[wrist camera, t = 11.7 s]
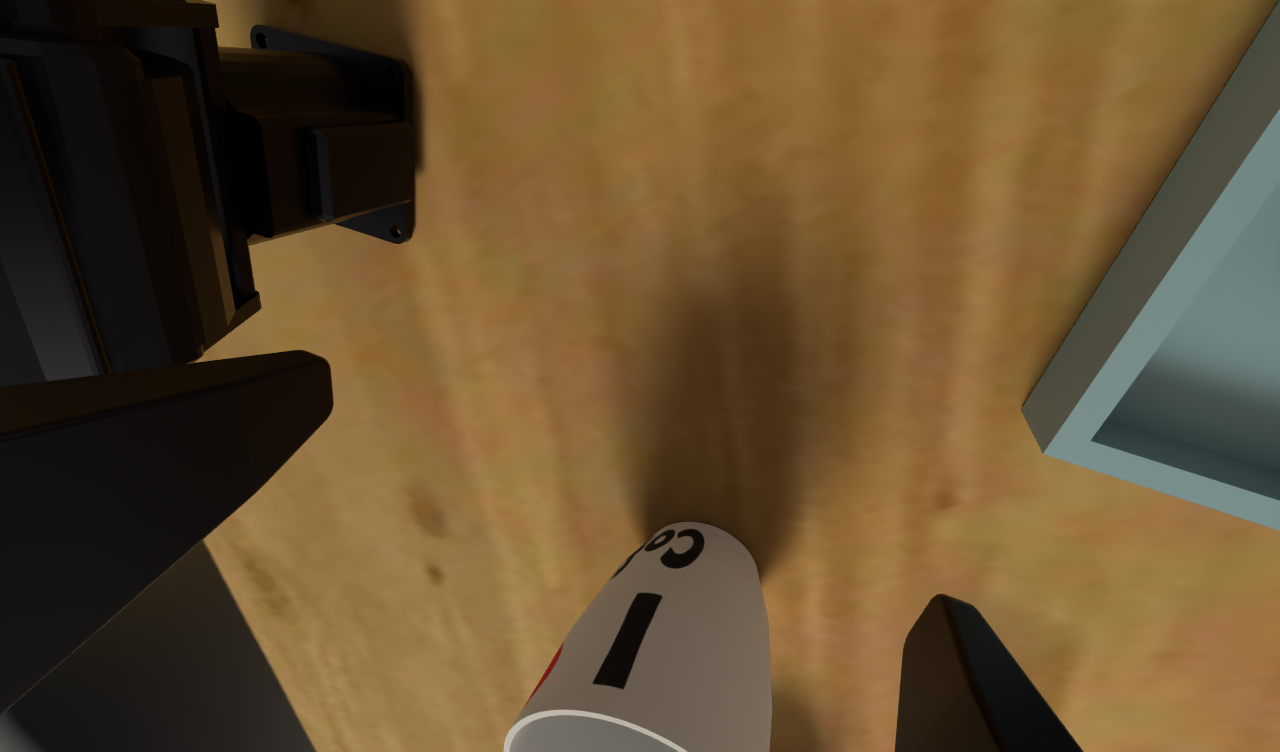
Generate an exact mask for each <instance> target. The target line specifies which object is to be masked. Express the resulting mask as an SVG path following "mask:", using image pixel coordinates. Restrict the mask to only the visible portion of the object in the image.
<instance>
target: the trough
mask: <svg viewBox="0 0 1280 752" xmlns="http://www.w3.org/2000/svg"><path fill="white" fill-rule="evenodd" d="M1021 411H1022V413H1023V415H1024V417H1025V419H1026V421H1027V423H1028V425H1029V427H1030V429H1031V431H1032V433H1033V435H1034V437H1035V439H1036V441H1037V443H1038V445H1039V447H1040V449H1041V451H1042V453H1043V454H1045V455H1048V456H1051V457H1054V458H1058V459H1061V460H1064V461H1067V462H1070V463H1073V464H1076V465H1079V466H1082V467H1085V468H1088V469H1091V470H1094V471H1098V472H1101V473H1104V474H1107V475H1110V476H1113V477H1116V478H1119V479H1122V480H1125V481H1128V482H1131V483H1135V484H1138V485H1141V486H1144V487H1147V488H1150V489H1153V490H1156V491H1159V492H1162V493H1165V494H1168V495H1172V496H1175V497H1178V498H1181V499H1184V500H1187V501H1190V502H1193V503H1196V504H1199V505H1202V506H1205V507H1208V508H1212V509H1215V510H1218V511H1221V512H1224V513H1227V514H1230V515H1233V516H1236V517H1239V518H1242V519H1245V520H1249V521H1252V522H1255V523H1258V524H1261V525H1264V526H1267V527H1270V528H1273V529H1276V530H1279V531H1280V0H1279V1H1278V3H1277V5H1276V6H1275V8H1274V9H1273V11H1272V12H1271V14H1270V16H1269V17H1268V19H1267V20H1266V22H1265V24H1264V25H1263V27H1262V28H1261V30H1260V31H1259V33H1258V35H1257V36H1256V38H1255V39H1254V41H1253V43H1252V44H1251V46H1250V47H1249V49H1248V50H1247V52H1246V54H1245V55H1244V57H1243V58H1242V60H1241V62H1240V63H1239V65H1238V66H1237V68H1236V69H1235V71H1234V73H1233V74H1232V76H1231V77H1230V79H1229V81H1228V82H1227V84H1226V85H1225V87H1224V88H1223V90H1222V92H1221V93H1220V95H1219V96H1218V98H1217V100H1216V101H1215V103H1214V104H1213V106H1212V108H1211V109H1210V111H1209V112H1208V114H1207V115H1206V117H1205V119H1204V120H1203V122H1202V123H1201V125H1200V127H1199V128H1198V130H1197V131H1196V133H1195V134H1194V136H1193V138H1192V139H1191V141H1190V142H1189V144H1188V146H1187V147H1186V149H1185V150H1184V152H1183V153H1182V155H1181V157H1180V158H1179V160H1178V161H1177V163H1176V165H1175V166H1174V168H1173V169H1172V171H1171V172H1170V174H1169V176H1168V177H1167V179H1166V180H1165V182H1164V184H1163V185H1162V187H1161V188H1160V190H1159V191H1158V193H1157V195H1156V196H1155V198H1154V199H1153V201H1152V203H1151V204H1150V206H1149V207H1148V209H1147V210H1146V212H1145V214H1144V215H1143V217H1142V218H1141V220H1140V222H1139V223H1138V225H1137V226H1136V228H1135V229H1134V231H1133V233H1132V234H1131V236H1130V237H1129V239H1128V241H1127V242H1126V244H1125V245H1124V247H1123V249H1122V250H1121V252H1120V253H1119V255H1118V256H1117V258H1116V260H1115V261H1114V263H1113V264H1112V266H1111V268H1110V269H1109V271H1108V272H1107V274H1106V275H1105V277H1104V279H1103V280H1102V282H1101V283H1100V285H1099V287H1098V288H1097V290H1096V291H1095V293H1094V294H1093V296H1092V298H1091V299H1090V301H1089V302H1088V304H1087V306H1086V307H1085V309H1084V310H1083V312H1082V313H1081V315H1080V317H1079V318H1078V320H1077V321H1076V323H1075V325H1074V326H1073V328H1072V329H1071V331H1070V332H1069V334H1068V336H1067V337H1066V339H1065V340H1064V342H1063V344H1062V345H1061V347H1060V348H1059V350H1058V351H1057V353H1056V355H1055V356H1054V358H1053V359H1052V361H1051V363H1050V364H1049V366H1048V367H1047V369H1046V371H1045V372H1044V374H1043V375H1042V377H1041V378H1040V380H1039V382H1038V383H1037V385H1036V386H1035V388H1034V390H1033V391H1032V393H1031V394H1030V396H1029V397H1028V399H1027V401H1026V402H1025V404H1024V405H1023V407H1022V409H1021Z"/></svg>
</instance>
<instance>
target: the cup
mask: <svg viewBox="0 0 1280 752" xmlns="http://www.w3.org/2000/svg"><path fill="white" fill-rule="evenodd" d="M771 722H772V691H771V669H770V647H769V624H768V617H767V612H766V608H765V603H764V598H763V594H762V589H761V585H760V580H759V575H758V571H757V567H756V564H755V561H754V559H753V557H752V556H751V554H750V553H749V551H748V550H747V549H746V548H745V546H744V545H743V544H742V543H741V542H739V541H738V540H737V539H736V538H735V537H733V536H732V535H730V534H729V533H727V532H725V531H723V530H721V529H719V528H717V527H714V526H711V525H708V524H704V523H699V522H678V523H674V524H670V525H668V526H665V527H663V528H662V529H660V530H659V531H658V532H656V533H655V534H654V535H653V536H652V537H651V538H650V539H649V540H647V541H646V542H645V543H644V544H643V545H642V546H641V547H640V548H639V549H637V550H636V551H635V552H634V553H633V554H632V555H631V556H630V557H629V558H627V559H626V560H625V561H624V562H623V563H622V564H621V565H620V566H619V568H618V569H617V570H616V572H615V573H614V574H613V575H612V577H611V578H610V579H609V581H608V582H607V583H606V584H605V586H604V587H603V588H602V590H601V591H600V592H599V593H598V595H597V596H596V597H595V599H594V600H593V601H592V602H591V604H590V605H589V606H588V608H587V609H586V610H585V611H584V613H583V614H582V615H581V617H580V618H579V619H578V620H577V622H576V623H575V624H574V626H573V627H572V629H571V630H570V632H569V634H568V635H567V637H566V639H565V640H564V642H563V644H562V645H561V647H560V649H559V650H558V652H557V653H556V655H555V657H554V658H553V660H552V662H551V663H550V665H549V667H548V668H547V670H546V672H545V673H544V675H543V677H542V678H541V680H540V682H539V683H538V685H537V686H536V688H535V690H534V691H533V693H532V695H531V696H530V698H529V700H528V701H527V703H526V705H525V706H524V708H523V710H522V711H521V713H520V714H519V716H518V718H517V719H516V721H515V723H514V724H513V726H512V728H511V729H510V731H509V733H508V735H507V737H506V740H505V744H504V752H770V737H771Z"/></svg>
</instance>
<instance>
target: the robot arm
mask: <svg viewBox="0 0 1280 752" xmlns="http://www.w3.org/2000/svg"><path fill="white" fill-rule="evenodd" d="M215 28H219V23H218V17H217V10H216V4H214V3H210V2H206V1H202V0H0V716H1V715H2V714H3V713H4V712H5V711H6V710H7V709H9V708H10V707H11V706H12V705H13V704H14V703H15V702H17V701H18V700H19V699H20V698H21V697H22V696H24V695H25V694H26V693H27V692H28V691H29V690H30V689H31V688H33V687H34V686H35V685H36V684H37V683H38V682H40V681H41V680H42V679H43V678H44V677H45V676H46V675H47V674H49V673H50V672H51V671H52V670H53V669H55V668H56V667H57V666H58V665H59V664H60V663H61V662H62V661H64V660H65V659H66V658H67V657H68V656H69V655H71V654H72V653H73V652H74V651H75V650H76V649H77V648H78V647H80V646H81V645H82V644H83V643H84V642H85V641H87V640H88V639H89V638H90V637H91V636H92V635H94V633H96V632H97V631H98V630H99V629H100V628H102V627H103V626H104V625H105V624H106V623H107V622H109V621H110V620H111V619H112V618H113V617H114V616H115V615H117V614H118V613H119V612H120V611H121V610H122V609H123V608H124V607H126V606H127V605H128V604H129V603H130V602H132V601H133V599H135V598H136V597H137V596H138V595H139V594H141V593H142V592H143V591H144V590H145V589H146V588H147V587H149V586H150V585H151V584H152V583H153V582H154V581H156V580H157V579H158V578H159V577H160V576H161V575H162V574H163V573H165V572H166V571H167V570H168V569H169V568H171V567H172V566H173V565H174V564H175V563H176V562H177V561H179V560H180V559H181V558H182V557H183V556H184V555H185V554H187V553H188V552H189V551H190V550H191V549H192V548H194V547H195V546H196V545H197V544H198V543H199V542H200V541H202V540H203V539H204V538H205V537H206V536H207V535H208V534H210V533H211V532H212V531H213V530H214V529H215V528H217V527H218V526H219V525H220V524H221V523H222V522H223V521H225V520H226V519H227V518H228V517H229V516H230V515H231V514H233V513H234V512H235V511H236V510H237V509H238V508H239V507H241V506H242V505H243V504H244V503H245V502H246V501H247V500H248V499H250V498H251V497H252V496H253V495H254V494H255V493H256V492H257V491H258V490H259V489H260V488H261V487H262V486H263V485H264V484H265V483H266V482H267V481H268V480H269V479H270V478H271V477H272V476H273V475H274V474H275V473H276V472H277V471H278V470H279V469H280V468H281V467H282V466H283V465H284V464H285V463H286V462H287V461H288V459H289V458H290V457H291V456H292V455H293V454H294V453H295V452H296V451H297V450H298V449H299V448H300V447H301V446H302V445H303V444H304V443H305V442H306V441H307V440H308V439H309V438H310V436H311V435H312V434H313V433H314V432H315V431H316V430H317V429H318V428H319V427H320V426H321V425H322V424H323V423H324V422H325V421H326V420H327V418H328V417H329V415H330V414H331V412H332V409H333V390H332V379H331V369H330V365H329V363H328V361H327V360H326V359H325V358H323V357H321V356H318V355H315V354H313V353H310V352H307V351H304V350H294V351H286V352H278V353H270V354H262V355H254V356H246V357H238V358H230V359H222V360H214V361H206V362H198V363H195V362H196V361H197V360H198V359H200V358H201V357H202V356H203V354H204V352H205V351H206V350H207V349H209V348H210V347H211V346H213V345H214V344H215V343H217V342H218V341H219V340H221V339H222V338H223V337H225V336H226V335H227V334H228V333H230V332H231V331H232V330H234V329H235V328H236V327H238V326H239V325H240V324H242V323H243V322H244V321H246V320H247V319H248V318H250V317H251V316H252V315H254V314H255V313H256V312H258V311H259V310H260V309H261V302H260V295H259V292H258V291H256V290H255V285H254V278H253V272H252V265H251V259H250V252H249V246H250V245H254V244H258V243H261V242H265V241H269V240H273V239H277V238H280V237H284V236H288V235H292V234H296V233H299V232H303V231H307V230H311V229H315V228H318V227H322V226H326V225H330V224H336V225H339V226H343V227H346V228H349V229H352V230H355V231H358V232H361V233H364V234H367V235H370V236H373V237H376V238H379V239H383V240H386V241H389V242H392V243H395V244H401V243H404V242H407V241H409V240H410V239H411V238H412V234H413V198H412V197H413V151H412V76H411V71H410V69H409V66H408V65H407V64H406V63H405V61H403V60H401V59H399V58H396V57H392V56H388V55H384V54H380V53H376V52H372V51H368V50H364V49H360V48H356V47H352V46H348V45H344V44H340V43H336V42H332V41H328V40H324V39H321V38H317V37H313V36H309V35H305V34H301V33H297V32H293V31H289V30H285V29H281V28H277V27H273V26H269V25H255V26H253V27H252V29H251V32H250V38H251V46H252V48H235V47H218V45H217V38H216V32H215ZM265 39H267V44H266V40H265ZM394 68H395V69H396V71H397V74H398V79H397V81H396V80H395V78H394V75H393V71H394ZM396 226H398V228H399V229H400V232H401V234H399V233H398V231H397V228H396ZM895 752H1083V750H1082V749H1081V748H1080V746H1079V745H1078V744H1077V742H1076V741H1075V740H1074V738H1073V737H1072V736H1071V734H1070V733H1069V732H1068V730H1067V729H1066V728H1065V726H1064V725H1063V724H1062V722H1061V721H1060V720H1059V718H1058V717H1057V716H1056V714H1055V713H1054V711H1053V710H1052V709H1051V707H1050V706H1049V705H1048V703H1047V702H1046V701H1045V699H1044V698H1043V697H1042V695H1041V694H1040V693H1039V691H1038V690H1037V689H1036V687H1035V686H1034V685H1033V683H1032V682H1031V681H1030V679H1029V678H1028V677H1027V675H1026V674H1025V673H1024V671H1023V670H1022V669H1021V667H1020V666H1019V664H1018V663H1017V662H1016V660H1015V659H1014V658H1013V656H1012V655H1011V654H1010V652H1009V651H1008V650H1007V648H1006V647H1005V646H1004V644H1003V643H1002V642H1001V640H1000V639H999V638H998V636H997V635H996V634H995V632H994V631H993V630H992V628H991V627H990V626H989V624H988V623H987V622H986V620H985V619H984V618H983V616H982V615H981V613H980V612H979V611H978V610H977V609H976V608H975V607H974V606H973V605H971V604H969V603H967V602H964V601H961V600H959V599H956V598H953V597H951V596H948V595H946V594H937V595H936V596H934V597H933V598H932V599H931V600H930V602H929V603H928V605H927V606H926V608H925V609H924V611H923V612H922V614H921V615H920V617H919V618H918V620H917V621H916V623H915V624H914V626H913V627H912V629H911V630H910V632H909V633H908V635H907V638H906V640H905V644H904V648H903V656H902V669H901V681H900V693H899V705H898V718H897V730H896V742H895Z"/></svg>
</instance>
